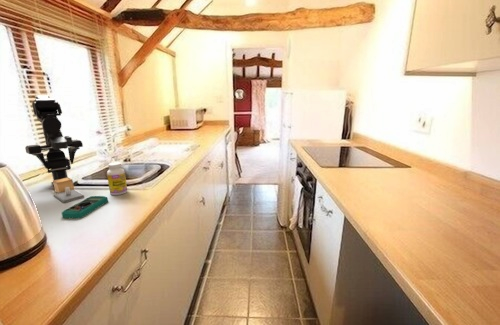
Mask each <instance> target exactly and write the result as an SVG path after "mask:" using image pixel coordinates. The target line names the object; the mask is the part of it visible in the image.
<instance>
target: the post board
mask: <svg viewBox="0 0 500 325" xmlns="http://www.w3.org/2000/svg"><path fill="white" fill-rule="evenodd" d="M53 196H54V197H55V198H56V199H58V200H59V201H60V202H62V203H63V204H64V203H68V202H73V201H75V200H79V199H82V198H84V197H85V196H84V194H83V193H82V192H81V193H80V192H79V191H77V190H75V188H74V189H72V190H70V188H69V187H66V188H65V191H64V192H60V193H57V192H55V193H53Z"/></svg>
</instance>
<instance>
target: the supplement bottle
mask: <svg viewBox="0 0 500 325" xmlns="http://www.w3.org/2000/svg"><path fill="white" fill-rule="evenodd" d="M106 177H107V182H108V188H109V193H110V195H112V196H121V195H124V194H126V193H127V192H128V186H127V178H126V172H125V169H124V168H122V163H121V162H118V161H117V162H116V161H115V162H110V163H108V170H107V171H106Z"/></svg>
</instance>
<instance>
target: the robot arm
mask: <svg viewBox="0 0 500 325" xmlns="http://www.w3.org/2000/svg"><path fill="white" fill-rule="evenodd" d="M31 105H32V110H33V115H34V116H36V119H37V121H39V123H41V126H42V127H41V128H42V132H43V133H42V134H43V136H44V141H45V145H39V144H31V145H26V146H25V152H26V154H29V155H32V156H35V157H36V158H37V159H38V160H39V161H40V163H41V164H42V166H43V167H44V168H45V169H46V170H47V173H48V174H51V175H52V182H50V183H51V184H52V185H54V183H53V181H54V180H58V179H63V178H67V177H68V173H67V172H68V171H70V170H71V168H72V166H71V165H73V164H74V160H75V155H76V152H77V151H78V150H80V148H83V147H84V144H83V141H81V140H79V139H73V138H72V136H71V135H65V136H64V135H63V132H62V131H61V129H62V122H61V121H60V120H59V119H58V117H60V116H62V115H61V114H63V111H62V107H61V105H60V103H59V102H58V101H56V99H55V98H50V95H47V94H46V95H40V94H39V95H38V94H37V95H35V100H34V101H33V102H31ZM62 149H65V150H66V149H67V151H68V157H66V153H65V152H64V151H63V150H62ZM47 150H48V152H47V153H46V158H45V154H44V153H43V152H42V151H47ZM68 158H69V159H68ZM68 178H69V177H68Z"/></svg>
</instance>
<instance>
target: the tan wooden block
mask: <svg viewBox="0 0 500 325" xmlns="http://www.w3.org/2000/svg"><path fill="white" fill-rule="evenodd" d="M52 182H53V183H54V184H53V186H54V191H55V193H60V192H64V191H65V188H66V187H69V188H70V190H72V189H74V190H75V188H74V187H75V186H74V181H73V179H72V178H69V177H67V178H63V179H58V180H54V181H53V180H52Z"/></svg>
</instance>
